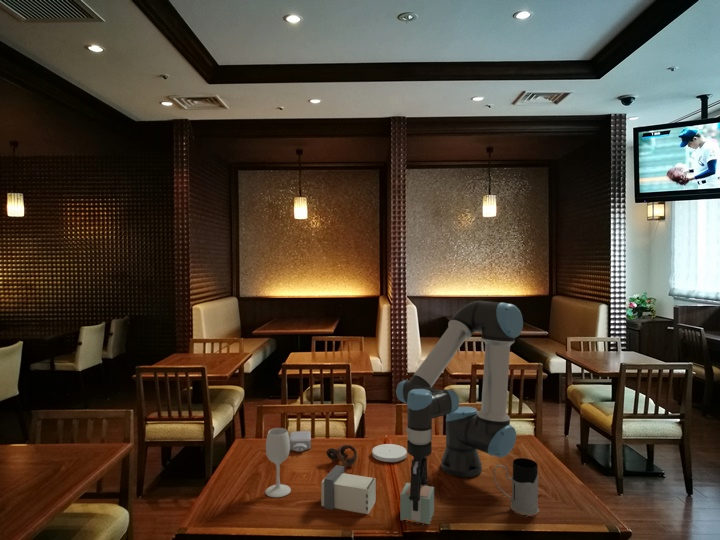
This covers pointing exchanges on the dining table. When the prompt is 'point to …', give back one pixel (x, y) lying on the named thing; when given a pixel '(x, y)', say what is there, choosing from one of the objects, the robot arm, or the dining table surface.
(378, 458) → the plastic lid
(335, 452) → the brown hollow ring
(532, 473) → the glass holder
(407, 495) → the retro monitor box
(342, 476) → the cream rectangular block
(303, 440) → the charger
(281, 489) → the wineglass
